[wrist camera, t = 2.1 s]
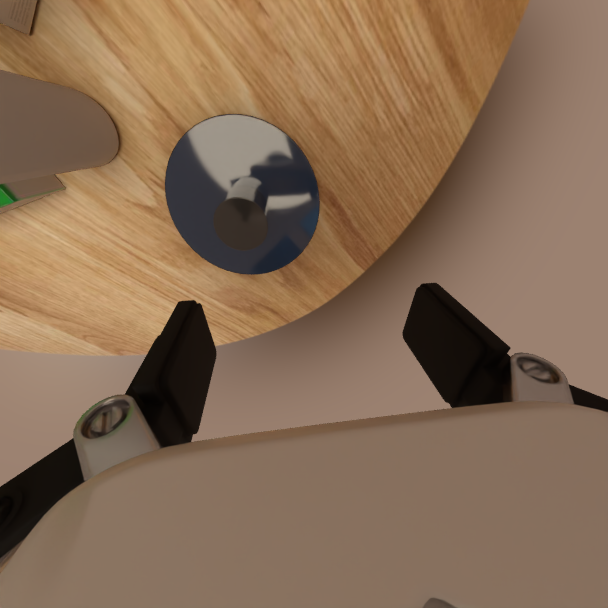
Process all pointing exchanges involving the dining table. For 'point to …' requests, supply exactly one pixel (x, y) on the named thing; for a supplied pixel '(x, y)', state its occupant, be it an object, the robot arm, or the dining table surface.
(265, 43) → the dining table surface
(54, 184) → the flat green box
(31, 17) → the white product box
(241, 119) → the lid
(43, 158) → the beverage can
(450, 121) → the dining table surface
